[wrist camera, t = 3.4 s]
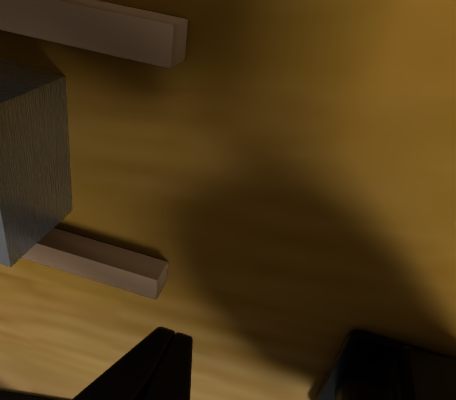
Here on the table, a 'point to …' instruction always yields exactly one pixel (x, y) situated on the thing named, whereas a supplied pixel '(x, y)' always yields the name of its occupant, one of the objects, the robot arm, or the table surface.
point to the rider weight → (32, 157)
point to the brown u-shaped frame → (116, 46)
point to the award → (17, 397)
